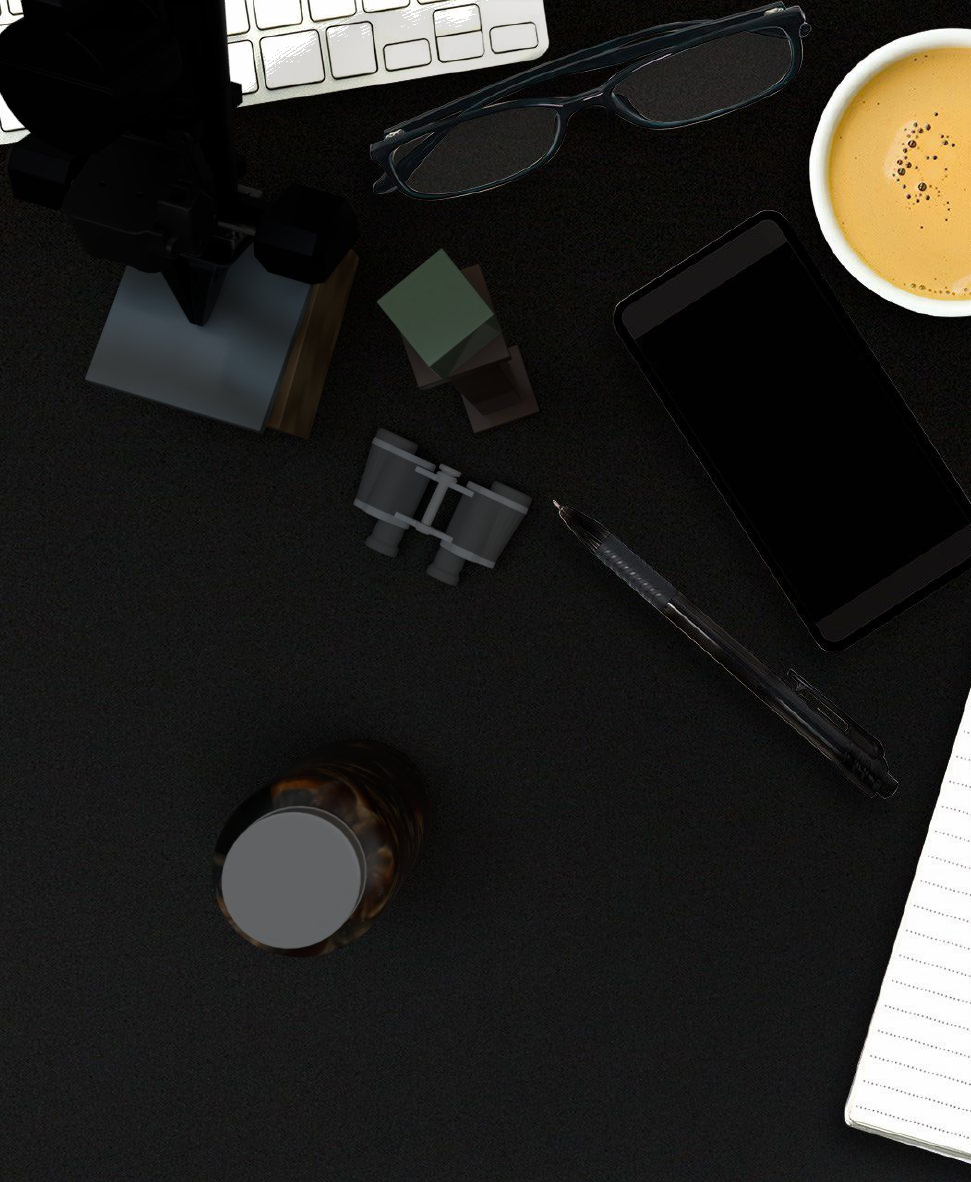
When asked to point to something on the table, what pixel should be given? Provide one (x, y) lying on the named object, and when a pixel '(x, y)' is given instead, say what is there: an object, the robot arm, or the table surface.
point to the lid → (203, 344)
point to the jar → (322, 848)
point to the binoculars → (435, 508)
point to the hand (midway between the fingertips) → (199, 322)
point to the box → (313, 353)
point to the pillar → (485, 375)
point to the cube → (441, 315)
